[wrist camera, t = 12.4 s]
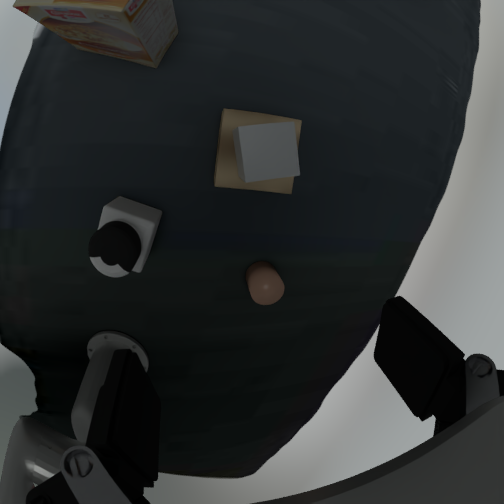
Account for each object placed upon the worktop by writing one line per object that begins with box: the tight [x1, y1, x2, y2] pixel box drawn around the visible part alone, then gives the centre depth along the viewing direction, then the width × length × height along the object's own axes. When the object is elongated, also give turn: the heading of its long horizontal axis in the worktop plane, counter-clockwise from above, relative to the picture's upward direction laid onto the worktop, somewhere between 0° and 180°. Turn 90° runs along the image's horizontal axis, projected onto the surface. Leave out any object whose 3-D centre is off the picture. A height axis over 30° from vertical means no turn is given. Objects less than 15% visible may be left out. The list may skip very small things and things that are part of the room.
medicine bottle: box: [89, 196, 162, 277], centre depth 33 cm, size 7×7×12 cm
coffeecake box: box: [13, 0, 178, 68], centre depth 19 cm, size 15×7×20 cm, turn 64°
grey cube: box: [232, 122, 300, 183], centre depth 30 cm, size 6×6×6 cm
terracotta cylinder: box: [246, 261, 284, 305], centre depth 43 cm, size 5×5×5 cm
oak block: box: [214, 109, 302, 194], centre depth 35 cm, size 10×10×5 cm
